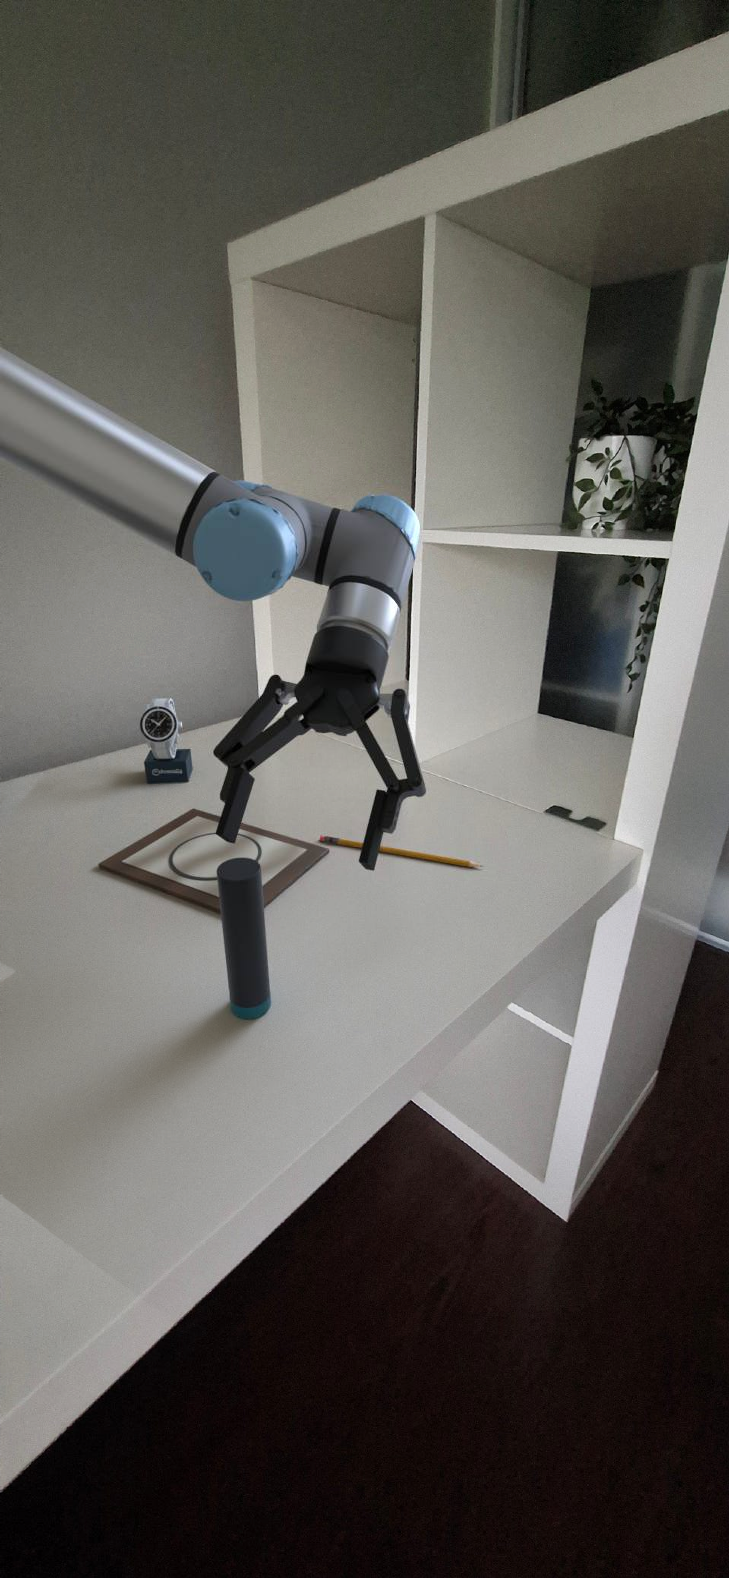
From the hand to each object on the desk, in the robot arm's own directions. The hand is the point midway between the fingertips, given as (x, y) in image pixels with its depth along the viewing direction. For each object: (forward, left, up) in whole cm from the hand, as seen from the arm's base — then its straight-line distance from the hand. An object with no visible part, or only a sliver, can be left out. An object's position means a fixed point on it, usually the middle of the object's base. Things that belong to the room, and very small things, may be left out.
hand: (293, 852), depth 60 cm
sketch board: (-15, +6, -9) cm, 18 cm away
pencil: (+2, +17, -9) cm, 20 cm away
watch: (-35, +20, -9) cm, 41 cm away
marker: (+2, -10, -9) cm, 13 cm away
